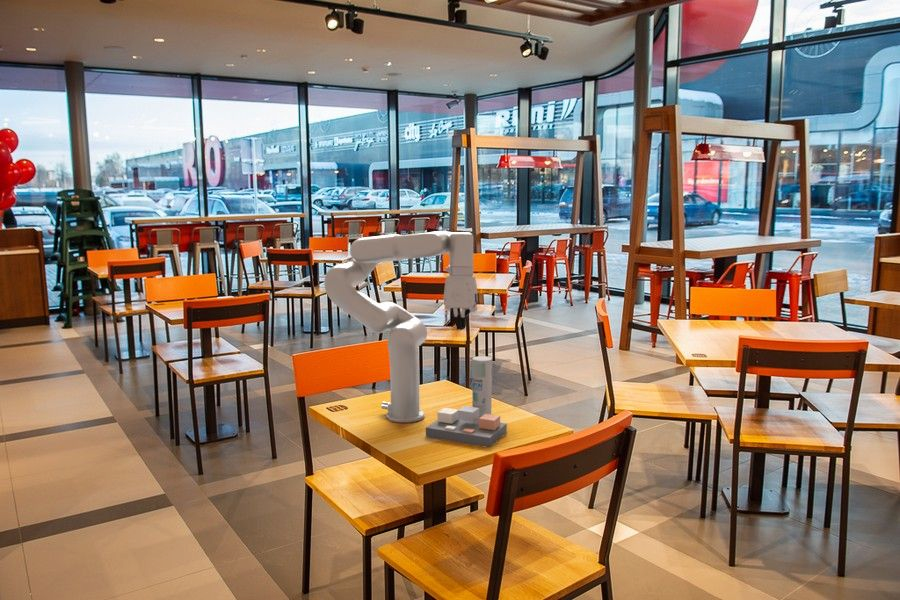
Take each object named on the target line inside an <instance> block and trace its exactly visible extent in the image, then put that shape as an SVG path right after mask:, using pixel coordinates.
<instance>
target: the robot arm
mask: <svg viewBox="0 0 900 600" xmlns="http://www.w3.org/2000/svg"><path fill="white" fill-rule="evenodd" d="M349 252H350V253H349V254H350V256H351V258H350V259H349V261H347V262H343V263H339V264H335V265H334V266H332V267H331V268H328V270H327V271H326V273H325V277H324V289H325V292H326V295H327V296H328V298H329V299H330V300H331V302H332V303H333V304H334V305H335V306H337V308H339V309H340V310H342V311H343V312H345V313H347V314H348V315H349V316H351V317H352V318H353V319H355V320H356V321H357V322H358V323H360V324H361V325H363V326H364V327H366V328H367V329H368V330H369V331H371V332H373V333H376V334H382V333H385V332H387V331H388V332H389V333H388V336H387V349H388V355H389V356H388V357H389V373H390V376H389V377H390V382H389V383H390V402H388V401H382V403H381V407H380V408H381V409H383V410H387V412H386V417H385V418H386V419H387V420H389V421H391V422H394V423H400V424H401V423H402V424H403V423H413V422H414V423H415V422H418V421H421V420H423V419H424V418H425V412H424V411H423V410H422V409H421V407H420V359H419V354H418V347H420V346H421V345H423V343H425V341H426V340H427V337H428V330H427V327H426V325H425V324H424V322H423V321H421V320H420V319H419V318H417V317H416V316H415V315H414V314H412V313H410V312H409V311H408V310H407V309H405V308H404V307H402V306H401V305H399V304H397V303H395V302H392V301H381V302H377V301H375V300H374V299H373V298H371V297H369V296H368V295H367V294H366V293H364V292H362V291H360V290H357V289H356V288H354V287H357V286H359V285H361V284H362V283H364V281H366V280H367V278H368V276H370V274H371V273H372V272H373V271H374V269H375V268H376V267H377V265H378V264H379V263H384V262H397V261H403V260H410V259H411V260H412V259H421V258H423V259H424V258H431V257H437V256H440V255H441V256H442V255H446V254H447V255H449V256H448V257H449V259H448V261H449V262H448V263H449V264H448V266H446V267H445V272H448V275H446V277H445V281H444V282H445V283H444V290H443V291H444V292H443V306H445V307H444V309H445V310H447V311H449V312H451V313H452V314H453V316H454V317H455V327H456V331H457V330H460V331H461V330H464V329H466V327H467V317H468V316H469V314H471V313H475V312H477V311H478V307H477V306H478V288H477V280H476V275H474V235H473V233H471V232H468V231H467V232H466V231H465V232H464V231H461V232H460V231H455V232H454V231H453V232H452V231H444V230H437V231H436V230H435V231H430V232H422V233H413V234H398V233H393V234H386V235H385V234H384V235H376V236H366V237H359V238H357V239H355V240H354V241H353V242H352V243H351V245H350V248H349Z"/></svg>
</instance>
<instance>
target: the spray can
mask: <svg viewBox="0 0 900 600" xmlns="http://www.w3.org/2000/svg"><path fill="white" fill-rule="evenodd" d="M471 361H472V362H471V363H472V364H471V366H472V367H471V375H472V377H471V378H472V381H471V382H472V385H471V386H472V389H471V392H472V393H471V394H472V397H471V398H472V407H476V408H479V418H480V417H481V416H483V415H484V414H491V415H492V394H493V393H492V392H493V391H492V390H493V384H492V382H493V358H492V357H490V356H487V355H486V356H485V355H484V356H483V355H481V356H479V355H478V356H474V357H472V359H471ZM479 418H478V419H479Z"/></svg>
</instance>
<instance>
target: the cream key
mask: <svg viewBox="0 0 900 600" xmlns="http://www.w3.org/2000/svg"><path fill="white" fill-rule="evenodd" d="M458 410H459V409H455V408H448V407H443V408H441V409H440V410H439V411H437V420H436V421H438V422H444V423H451V424H452V423H454V422H455V421H457V420H458Z"/></svg>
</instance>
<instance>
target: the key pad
mask: <svg viewBox="0 0 900 600" xmlns="http://www.w3.org/2000/svg"><path fill="white" fill-rule="evenodd" d="M507 430H508V424H507V422H506V423H505V422H500V426H499V427H497V428H496V429H495V430H489V429H483V428H479V419H476V420H475V421H473V422H470V421H463V420H457V421H455V422H454V423H452V424H451V423H444V422H438V421H437V420H435V421H434V422H432V423H431V424H429V425H427V426H425V438H430V439H435V440H442V441H448V442H453V443H461V444H466V445H471V446H472V445H473V446H478V447H483V446H486V447H485V448H489V447H490V446H491V445H492V446H493V445H494V444H495V443H497V442H499V440H500V439H501V438H503V437H504V436H505V435H506V434H507ZM496 441H497V442H496ZM492 446H491V447H492ZM491 447H490V448H491Z"/></svg>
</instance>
